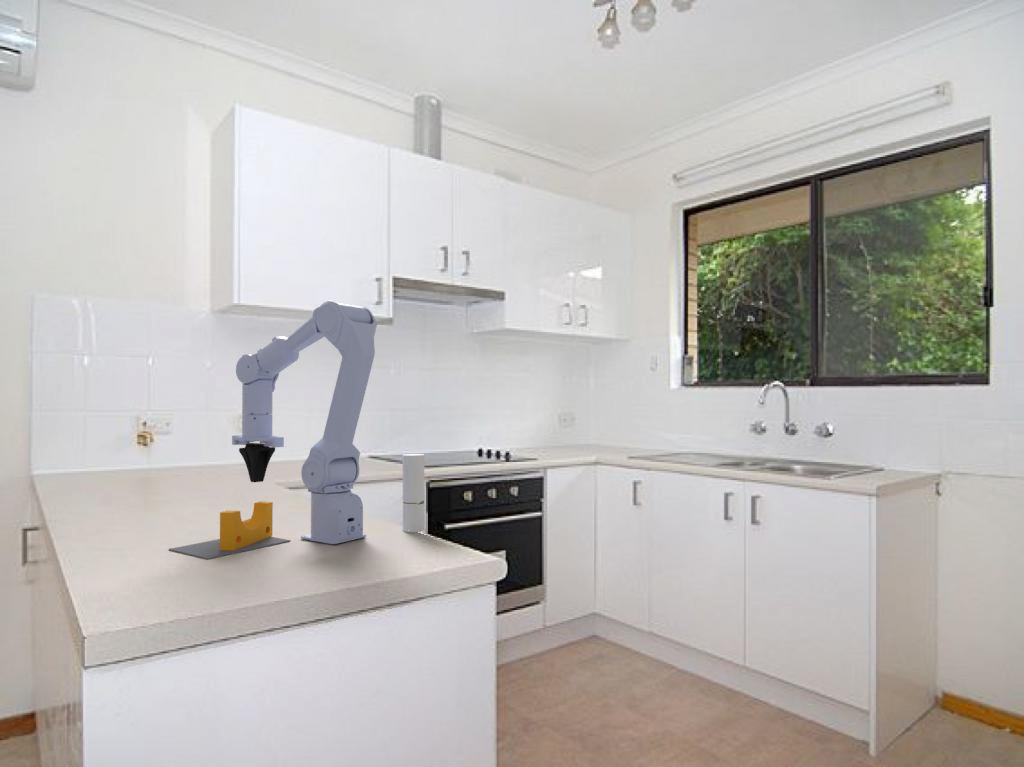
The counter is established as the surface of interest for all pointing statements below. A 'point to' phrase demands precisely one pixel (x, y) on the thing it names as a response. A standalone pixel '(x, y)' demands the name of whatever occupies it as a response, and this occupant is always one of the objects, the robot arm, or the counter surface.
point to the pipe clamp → (245, 527)
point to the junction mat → (213, 550)
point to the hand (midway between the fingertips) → (257, 481)
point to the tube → (413, 492)
